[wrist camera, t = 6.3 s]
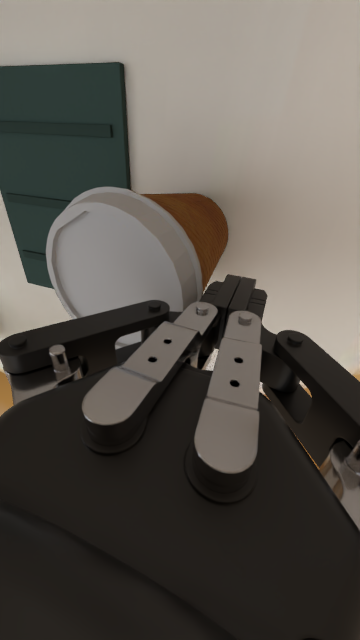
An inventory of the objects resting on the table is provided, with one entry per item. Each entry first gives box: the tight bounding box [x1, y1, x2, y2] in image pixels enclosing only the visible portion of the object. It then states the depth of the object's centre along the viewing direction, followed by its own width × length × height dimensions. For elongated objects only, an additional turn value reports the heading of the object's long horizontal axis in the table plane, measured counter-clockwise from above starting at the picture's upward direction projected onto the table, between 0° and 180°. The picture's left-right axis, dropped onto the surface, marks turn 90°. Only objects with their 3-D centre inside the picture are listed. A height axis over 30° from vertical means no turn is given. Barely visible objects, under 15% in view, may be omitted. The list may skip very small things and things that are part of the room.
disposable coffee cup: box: [46, 187, 228, 349], centre depth 19 cm, size 10×10×12 cm
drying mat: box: [0, 62, 130, 289], centre depth 27 cm, size 15×20×1 cm
